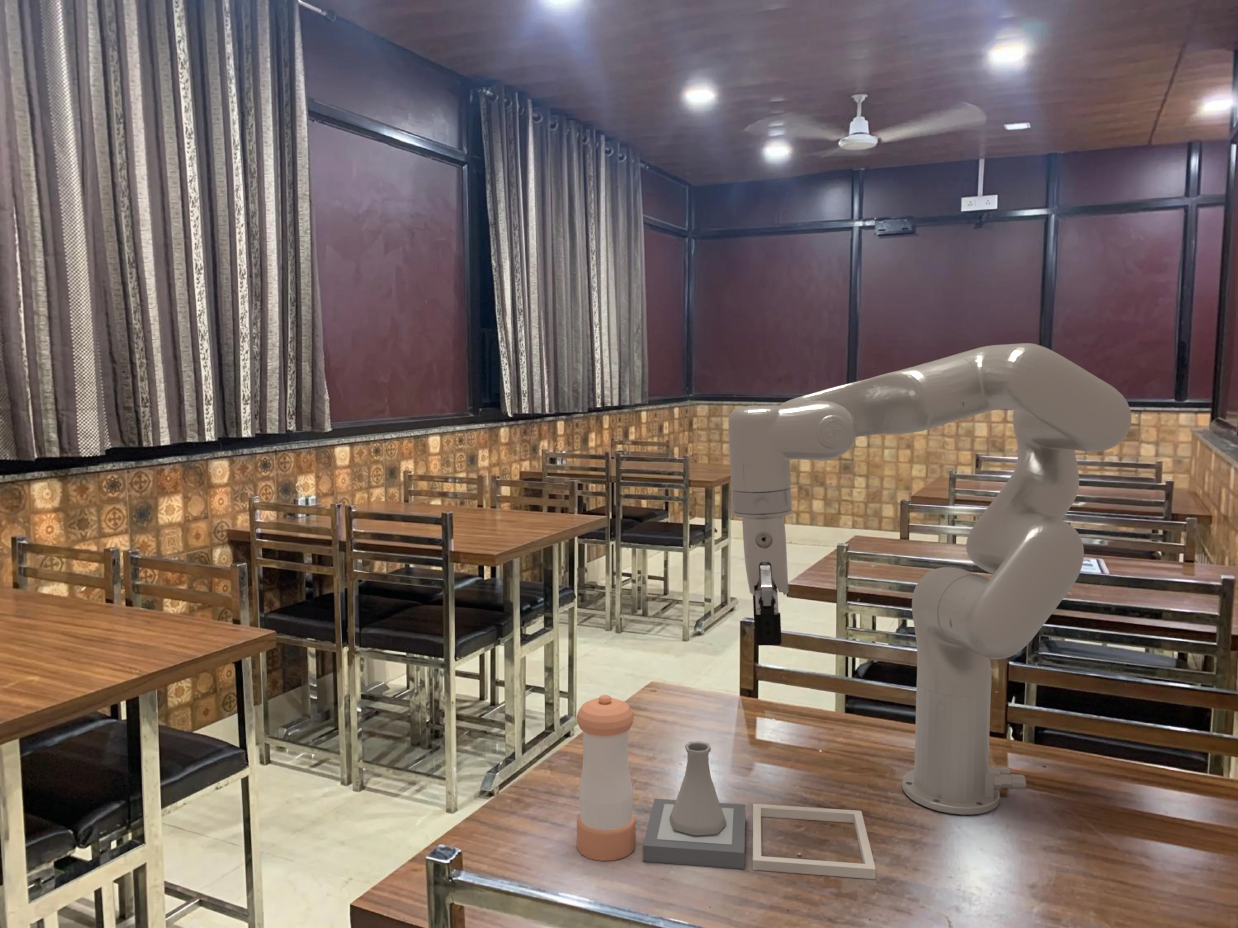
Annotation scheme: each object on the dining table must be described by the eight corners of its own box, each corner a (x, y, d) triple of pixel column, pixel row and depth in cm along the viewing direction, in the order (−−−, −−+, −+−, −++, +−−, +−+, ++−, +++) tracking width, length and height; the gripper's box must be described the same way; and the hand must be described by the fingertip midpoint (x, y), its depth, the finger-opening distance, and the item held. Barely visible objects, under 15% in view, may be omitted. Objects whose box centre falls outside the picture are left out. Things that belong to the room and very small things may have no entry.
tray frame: (861, 819, 115) (861, 810, 115) (875, 879, 102) (875, 869, 101) (753, 812, 117) (753, 803, 117) (752, 869, 104) (752, 859, 104)
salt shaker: (643, 835, 112) (642, 688, 110) (624, 865, 105) (623, 709, 103) (589, 826, 114) (588, 682, 112) (567, 855, 107) (566, 702, 105)
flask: (724, 840, 106) (724, 760, 105) (665, 834, 108) (664, 755, 107) (729, 811, 113) (729, 736, 112) (673, 806, 115) (673, 732, 114)
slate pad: (745, 818, 116) (745, 803, 115) (744, 868, 104) (744, 851, 104) (654, 812, 117) (654, 797, 117) (643, 861, 106) (643, 844, 105)
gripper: (795, 512, 103) (801, 653, 105) (787, 491, 120) (792, 613, 122) (731, 515, 105) (738, 654, 106) (732, 493, 122) (738, 614, 123)
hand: (767, 632), depth 114 cm, fingers open, 9 cm apart
